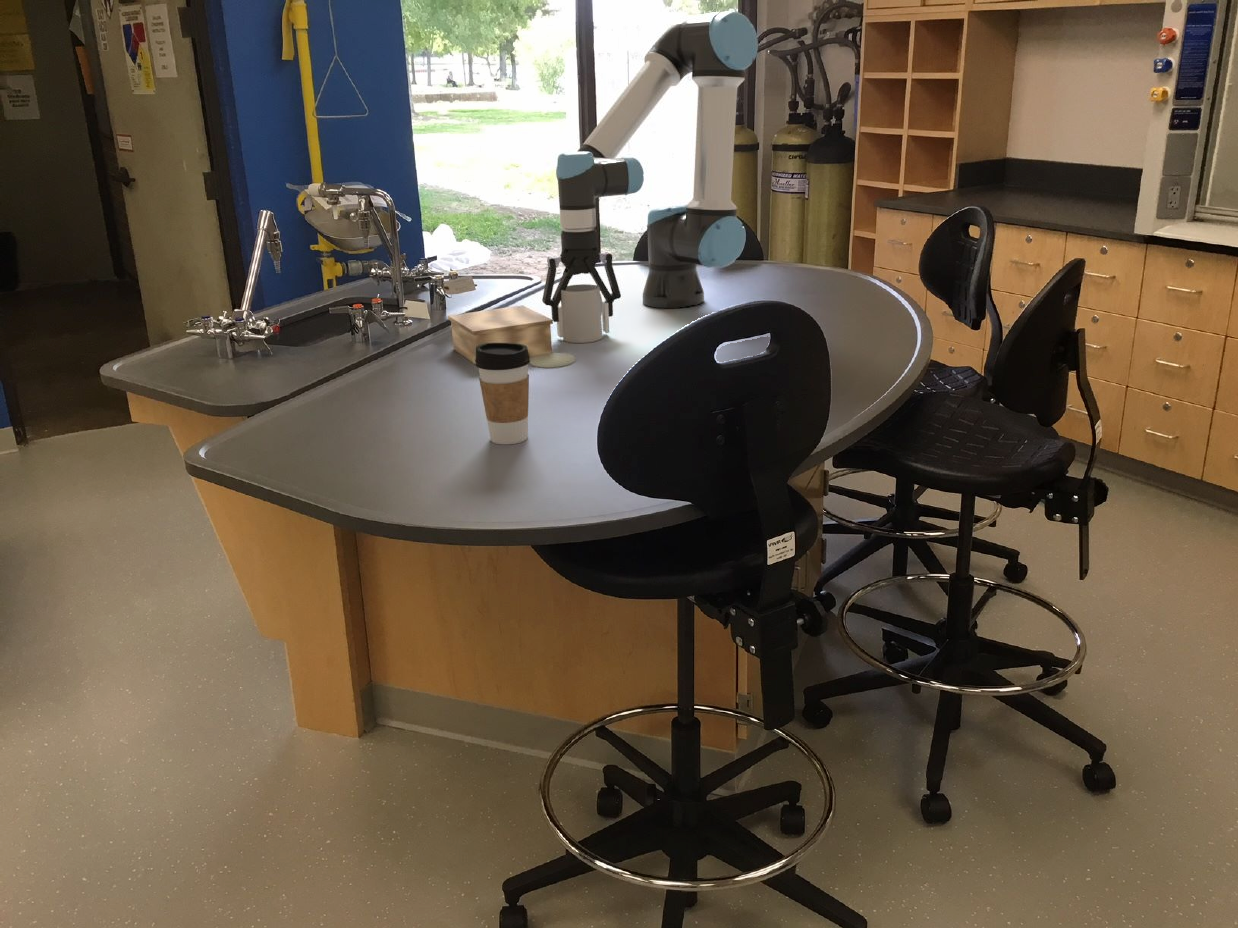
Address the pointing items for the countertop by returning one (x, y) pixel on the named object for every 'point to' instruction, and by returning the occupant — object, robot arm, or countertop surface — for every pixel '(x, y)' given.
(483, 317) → the maple box
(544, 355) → the felt coaster
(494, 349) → the coffee cup
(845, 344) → the countertop surface
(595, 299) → the mug
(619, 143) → the robot arm
